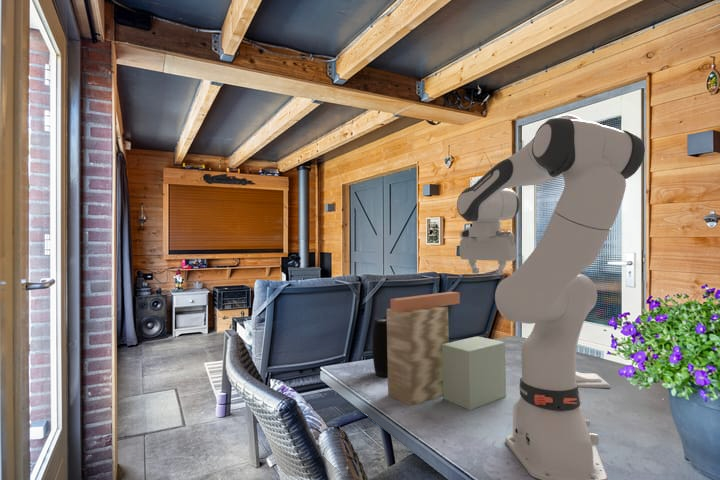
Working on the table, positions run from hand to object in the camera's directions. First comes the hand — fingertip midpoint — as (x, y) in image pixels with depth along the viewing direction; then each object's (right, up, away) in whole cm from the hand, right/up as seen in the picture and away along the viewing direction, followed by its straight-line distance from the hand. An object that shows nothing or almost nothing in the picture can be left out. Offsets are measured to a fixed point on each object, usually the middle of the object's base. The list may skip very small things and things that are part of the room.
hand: (487, 274), depth 132 cm
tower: (-24, -36, -9) cm, 44 cm away
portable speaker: (-32, -36, +10) cm, 49 cm away
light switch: (+31, -36, -1) cm, 47 cm away
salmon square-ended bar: (-21, -10, -7) cm, 24 cm away
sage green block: (-8, -35, -13) cm, 38 cm away
